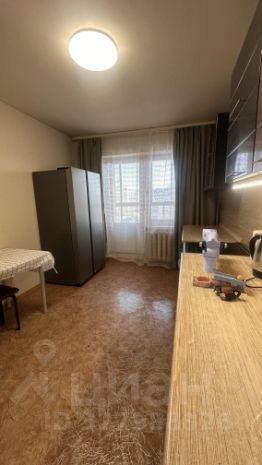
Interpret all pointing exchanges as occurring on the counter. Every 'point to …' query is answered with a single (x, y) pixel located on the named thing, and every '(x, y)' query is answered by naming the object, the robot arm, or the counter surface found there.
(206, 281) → the orange bowl
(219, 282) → the base
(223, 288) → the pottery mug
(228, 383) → the counter surface
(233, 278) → the lever
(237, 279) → the ball
